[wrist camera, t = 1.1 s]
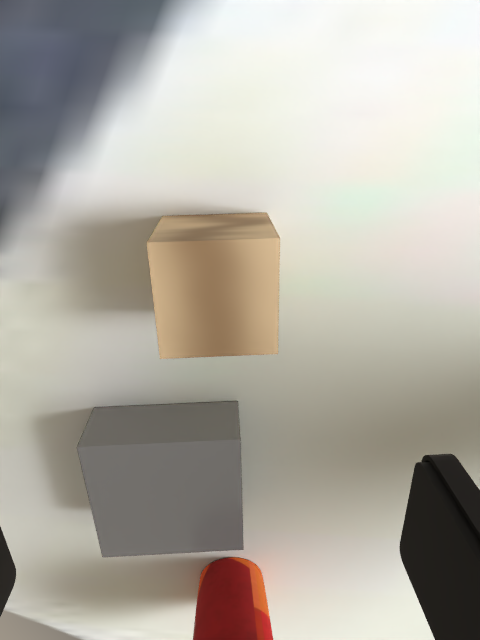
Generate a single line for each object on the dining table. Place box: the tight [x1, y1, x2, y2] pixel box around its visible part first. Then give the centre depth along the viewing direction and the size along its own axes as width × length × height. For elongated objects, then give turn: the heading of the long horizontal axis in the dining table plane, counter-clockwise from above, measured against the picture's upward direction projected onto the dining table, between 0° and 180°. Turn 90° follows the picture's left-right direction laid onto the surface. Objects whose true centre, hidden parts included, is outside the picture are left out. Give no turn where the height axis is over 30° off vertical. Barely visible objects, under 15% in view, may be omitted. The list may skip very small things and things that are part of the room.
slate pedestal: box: [77, 401, 244, 557], centre depth 30 cm, size 10×10×4 cm
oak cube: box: [147, 213, 280, 359], centre depth 23 cm, size 6×6×6 cm
